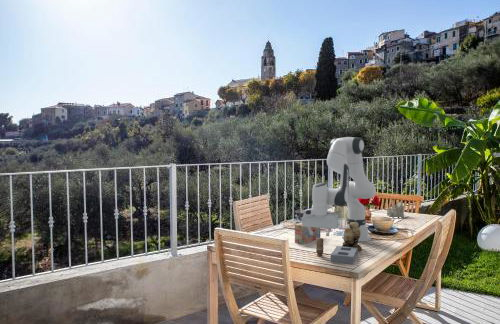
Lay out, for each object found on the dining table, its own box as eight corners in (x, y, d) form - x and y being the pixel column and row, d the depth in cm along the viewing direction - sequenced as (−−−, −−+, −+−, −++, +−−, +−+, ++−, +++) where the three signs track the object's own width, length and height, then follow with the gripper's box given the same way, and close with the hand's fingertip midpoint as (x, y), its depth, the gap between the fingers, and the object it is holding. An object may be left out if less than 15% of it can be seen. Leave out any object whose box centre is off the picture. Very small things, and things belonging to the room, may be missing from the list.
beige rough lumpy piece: (346, 245, 252) (347, 218, 252) (365, 248, 246) (365, 220, 245) (336, 251, 237) (336, 223, 237) (355, 254, 231) (356, 225, 230)
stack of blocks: (312, 237, 275) (312, 219, 275) (320, 238, 271) (320, 220, 270) (294, 242, 259) (294, 224, 259) (302, 244, 255) (302, 225, 255)
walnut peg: (316, 254, 231) (316, 237, 231) (324, 255, 230) (324, 238, 229) (315, 256, 227) (315, 239, 227) (322, 257, 226) (322, 239, 225)
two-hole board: (336, 252, 235) (336, 245, 235) (357, 254, 230) (357, 247, 230) (330, 262, 216) (330, 254, 216) (353, 264, 212) (353, 257, 212)
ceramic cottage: (401, 214, 356) (400, 198, 354) (407, 219, 339) (406, 201, 338) (383, 215, 357) (382, 199, 356) (388, 220, 341) (387, 202, 340)
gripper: (338, 211, 226) (338, 235, 227) (303, 209, 234) (303, 232, 234) (337, 213, 220) (336, 238, 221) (301, 211, 228) (300, 234, 229)
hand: (319, 235), depth 228 cm, fingers open, 8 cm apart
